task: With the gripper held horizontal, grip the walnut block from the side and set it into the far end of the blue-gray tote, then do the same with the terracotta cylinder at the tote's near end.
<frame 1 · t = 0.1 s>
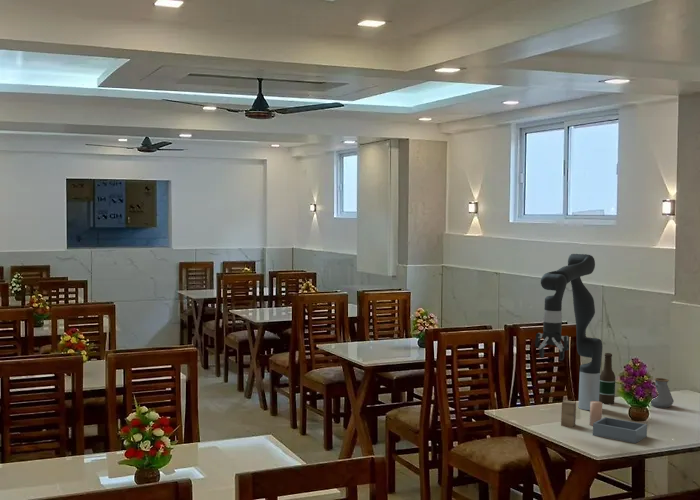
hand: (551, 358, 348), 29 cm above the table, tool pointing down, fingers open, 8 cm apart
beer bottle: (606, 402, 398), on the table
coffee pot: (652, 407, 391), on the table
walnut block: (568, 425, 353), on the table
blue-gray tote: (619, 435, 338), on the table
terracotta cylinder: (595, 425, 354), on the table
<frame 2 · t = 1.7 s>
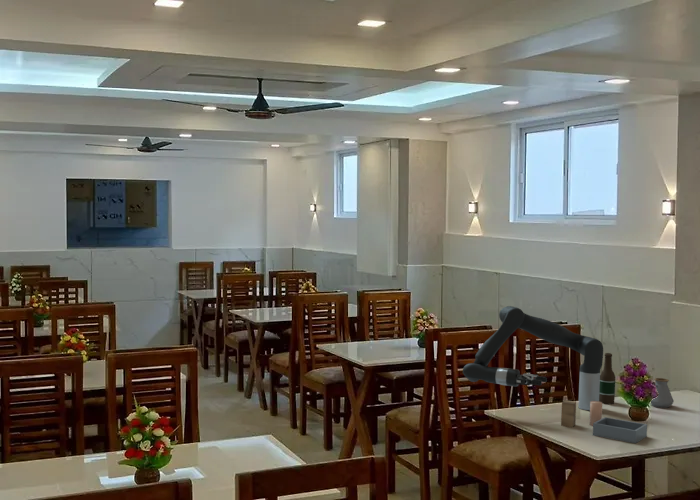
hand: (543, 381, 357), 18 cm above the table, tool horizontal, fingers open, 8 cm apart
nothing on the table moved.
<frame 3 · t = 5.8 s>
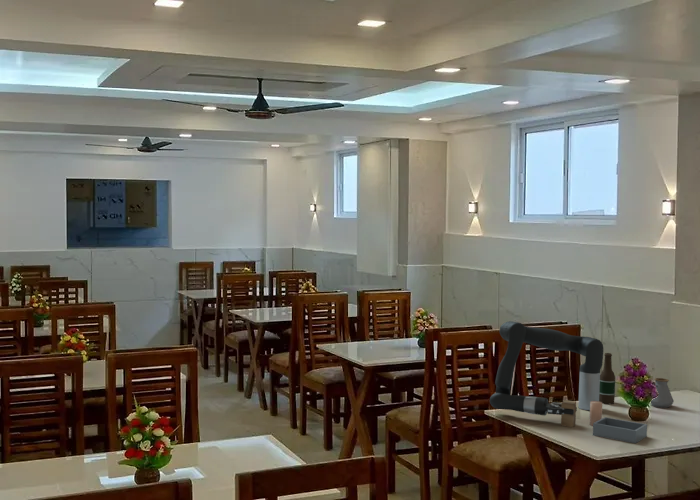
hand: (574, 410, 352), 7 cm above the table, tool horizontal, fingers closed on walnut block, 5 cm apart
walnut block: (568, 424, 353), on the table, touching gripper
everything else where it was.
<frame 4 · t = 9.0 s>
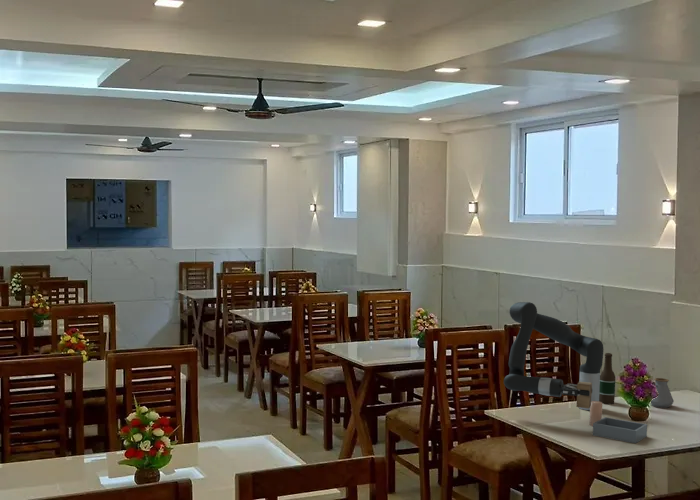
hand: (590, 392, 347), 16 cm above the table, tool horizontal, fingers closed on walnut block, 5 cm apart
walnut block: (583, 406, 348), point 9 cm above the table, touching gripper
everything else where it was.
when the fingers open (10 cm above the table, at t = 12.4 s): walnut block drops 2 cm, resting on blue-gray tote.
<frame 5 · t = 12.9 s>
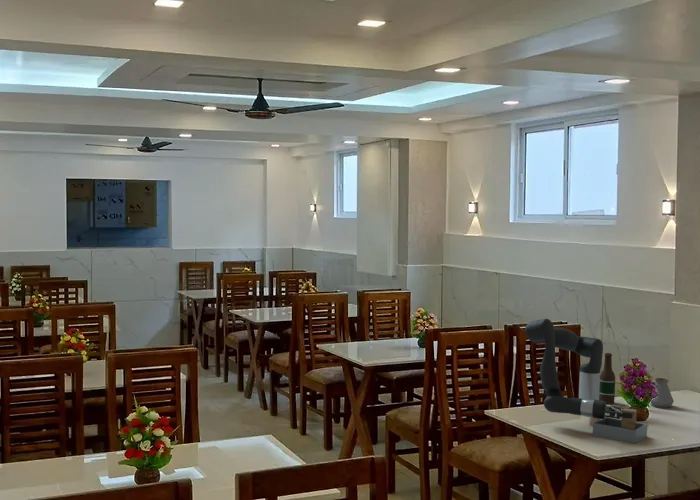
hand: (633, 413, 334), 10 cm above the table, tool horizontal, fingers open, 8 cm apart
walnut block: (628, 434, 336), point 1 cm above the table, touching blue-gray tote
everything else where it was.
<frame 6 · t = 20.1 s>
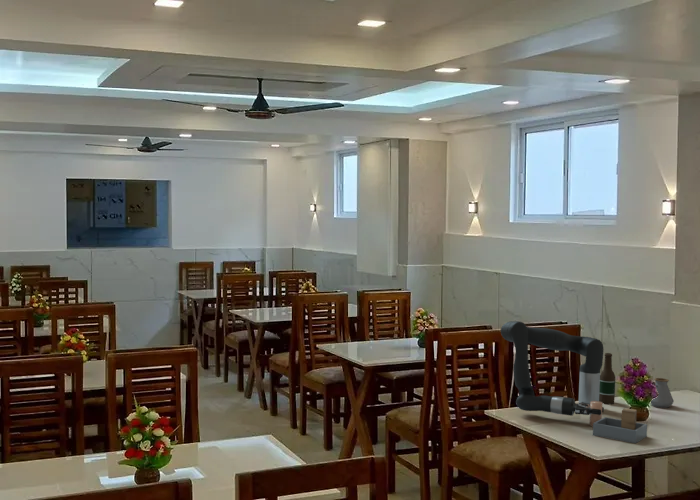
hand: (602, 410, 353), 7 cm above the table, tool horizontal, fingers closed on terracotta cylinder, 5 cm apart
terracotta cylinder: (595, 425, 354), on the table, touching gripper
everything else where it was.
when the fingers open (11 cm above the table, at t = 24.8 s): terracotta cylinder stays where it is, resting on blue-gray tote, walnut block.
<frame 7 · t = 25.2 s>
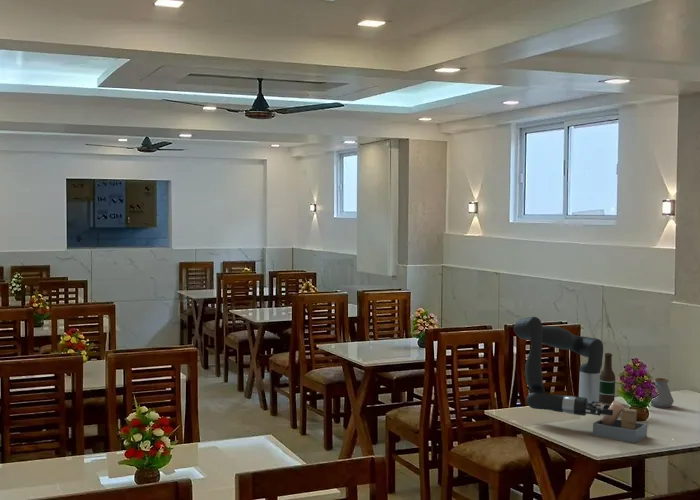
hand: (614, 410, 339), 10 cm above the table, tool horizontal, fingers open, 8 cm apart
walnut block: (628, 434, 336), point 1 cm above the table, touching blue-gray tote, terracotta cylinder
terracotta cylinder: (606, 423, 342), point 4 cm above the table, tilted 28°, touching blue-gray tote, walnut block
everything else where it was.
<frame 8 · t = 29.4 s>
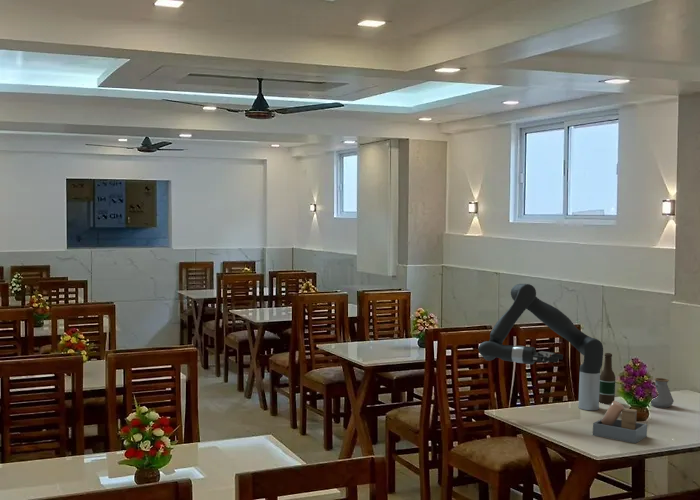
hand: (560, 358, 356), 28 cm above the table, tool horizontal, fingers open, 8 cm apart
nothing on the table moved.
at the end: walnut block inside the target area on the blue-gray tote (3.5 cm from its centre), point 1.2 cm above the blue-gray tote's base; terracotta cylinder inside the target area on the blue-gray tote (5.9 cm from its centre), point 3.9 cm above the blue-gray tote's base; the gripper is holding nothing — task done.
